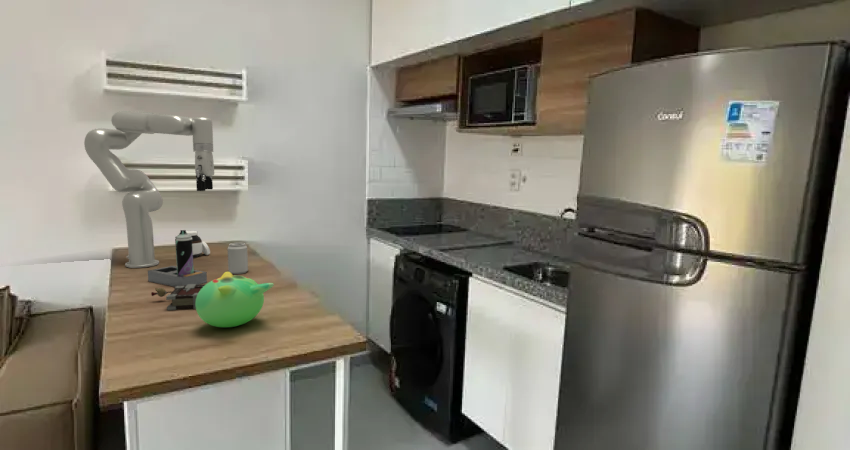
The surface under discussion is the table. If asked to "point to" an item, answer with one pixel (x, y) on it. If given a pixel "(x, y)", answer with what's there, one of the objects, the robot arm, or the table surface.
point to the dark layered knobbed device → (181, 296)
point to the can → (237, 258)
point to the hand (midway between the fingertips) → (204, 190)
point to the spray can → (184, 253)
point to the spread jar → (198, 244)
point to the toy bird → (230, 300)
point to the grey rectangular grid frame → (176, 277)
